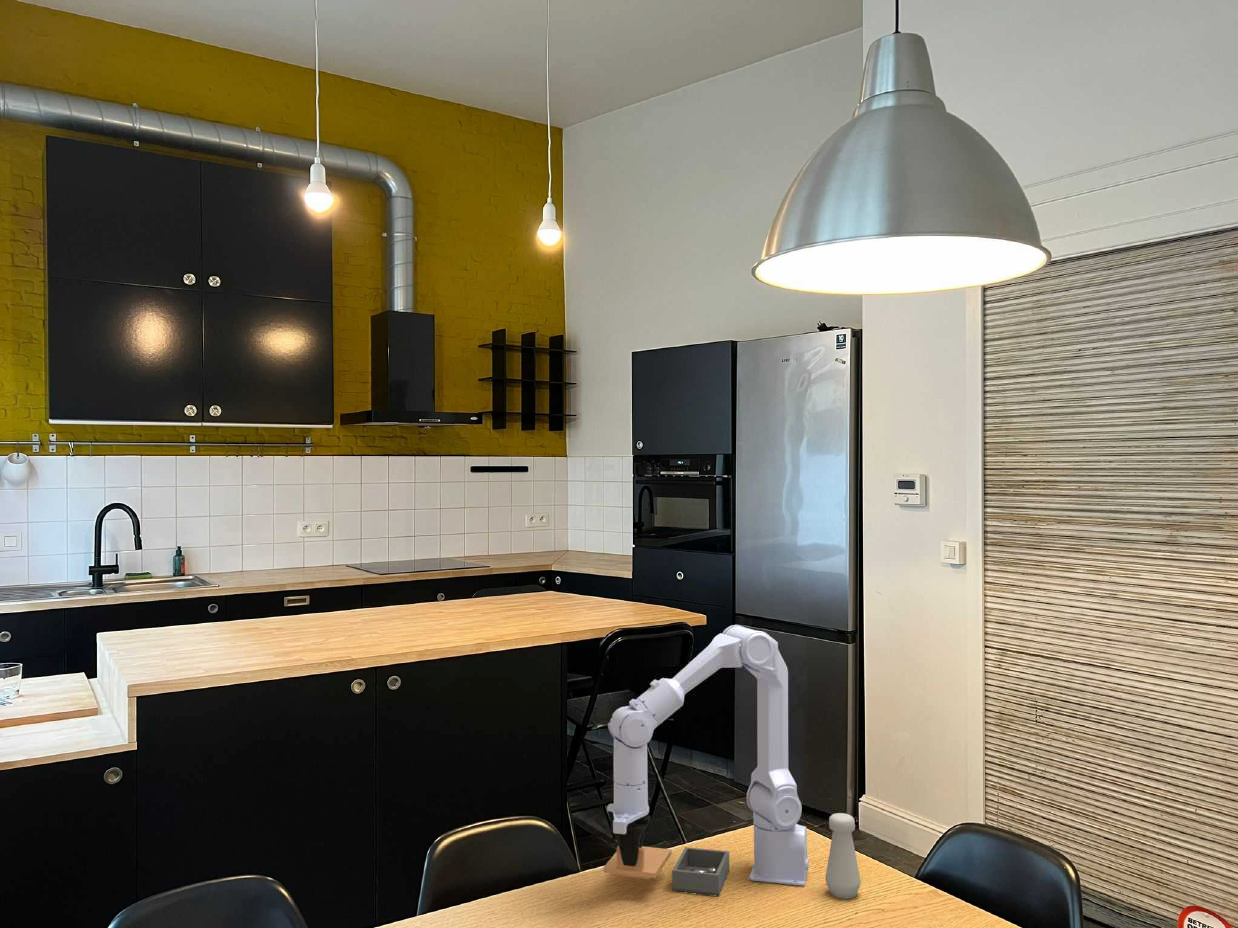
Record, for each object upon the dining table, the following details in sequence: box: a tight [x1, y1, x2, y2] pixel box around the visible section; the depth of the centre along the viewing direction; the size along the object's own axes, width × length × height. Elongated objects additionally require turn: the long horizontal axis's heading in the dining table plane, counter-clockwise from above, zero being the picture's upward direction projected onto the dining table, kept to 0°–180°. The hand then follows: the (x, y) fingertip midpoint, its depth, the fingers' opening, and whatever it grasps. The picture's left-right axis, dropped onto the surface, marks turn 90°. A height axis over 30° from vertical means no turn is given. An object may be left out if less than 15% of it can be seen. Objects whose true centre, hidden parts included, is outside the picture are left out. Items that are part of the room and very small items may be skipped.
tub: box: [671, 846, 730, 897], centre depth 161 cm, size 8×11×4 cm
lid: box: [602, 845, 672, 880], centre depth 160 cm, size 9×12×5 cm
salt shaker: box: [825, 812, 862, 900], centre depth 156 cm, size 6×6×13 cm
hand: (631, 862), depth 155 cm, fingers closed on lid
